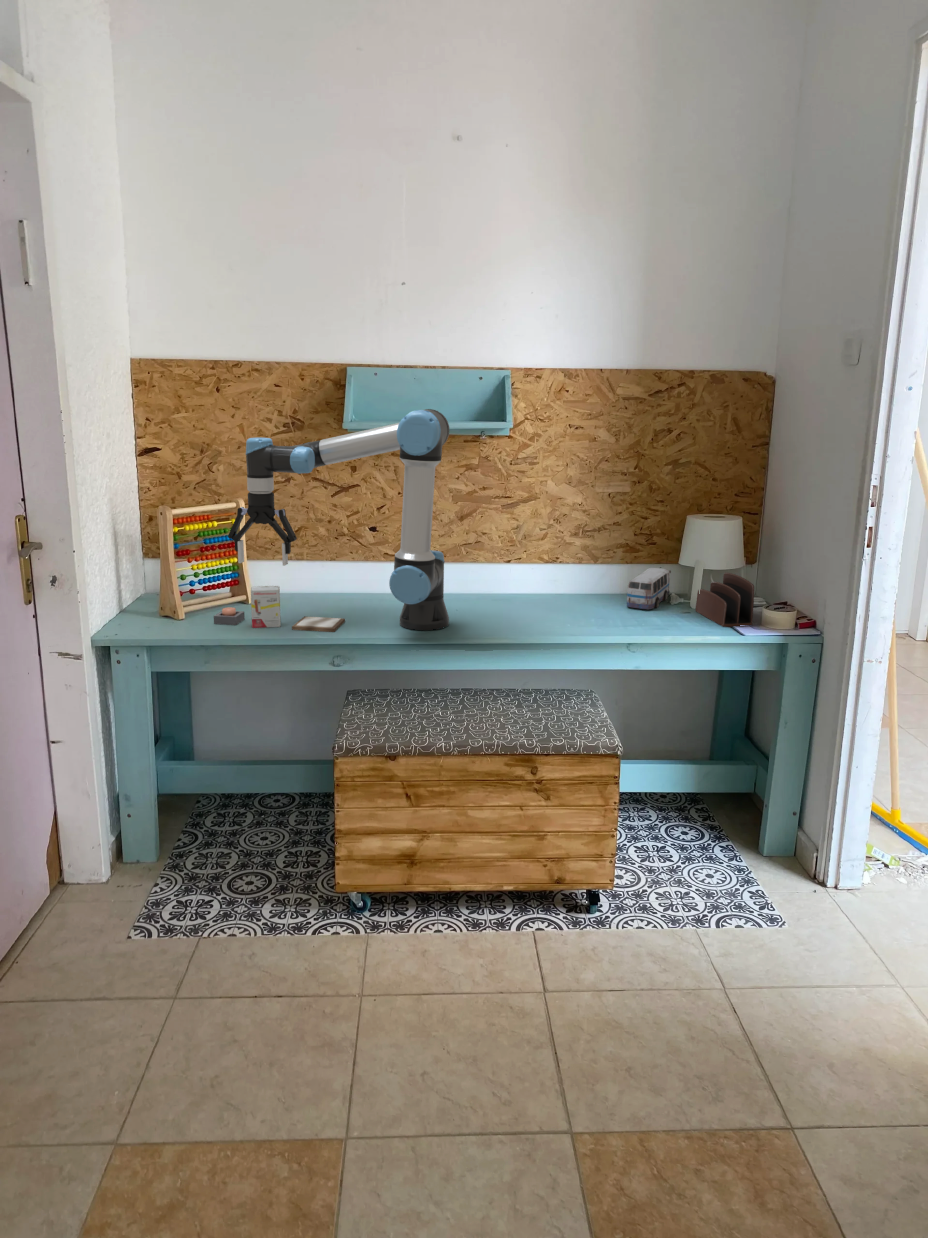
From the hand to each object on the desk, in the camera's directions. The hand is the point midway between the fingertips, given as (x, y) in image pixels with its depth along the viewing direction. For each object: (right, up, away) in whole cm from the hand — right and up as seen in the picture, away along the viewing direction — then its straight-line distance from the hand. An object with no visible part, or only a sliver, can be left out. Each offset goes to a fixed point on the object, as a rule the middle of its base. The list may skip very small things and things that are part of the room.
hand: (263, 563), depth 271 cm
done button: (-12, -16, +8) cm, 22 cm away
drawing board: (+16, -19, +6) cm, 25 cm away
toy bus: (+123, -11, +42) cm, 130 cm away
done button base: (-12, -17, +9) cm, 23 cm away
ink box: (0, -19, +5) cm, 19 cm away
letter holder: (+143, -17, +22) cm, 145 cm away
